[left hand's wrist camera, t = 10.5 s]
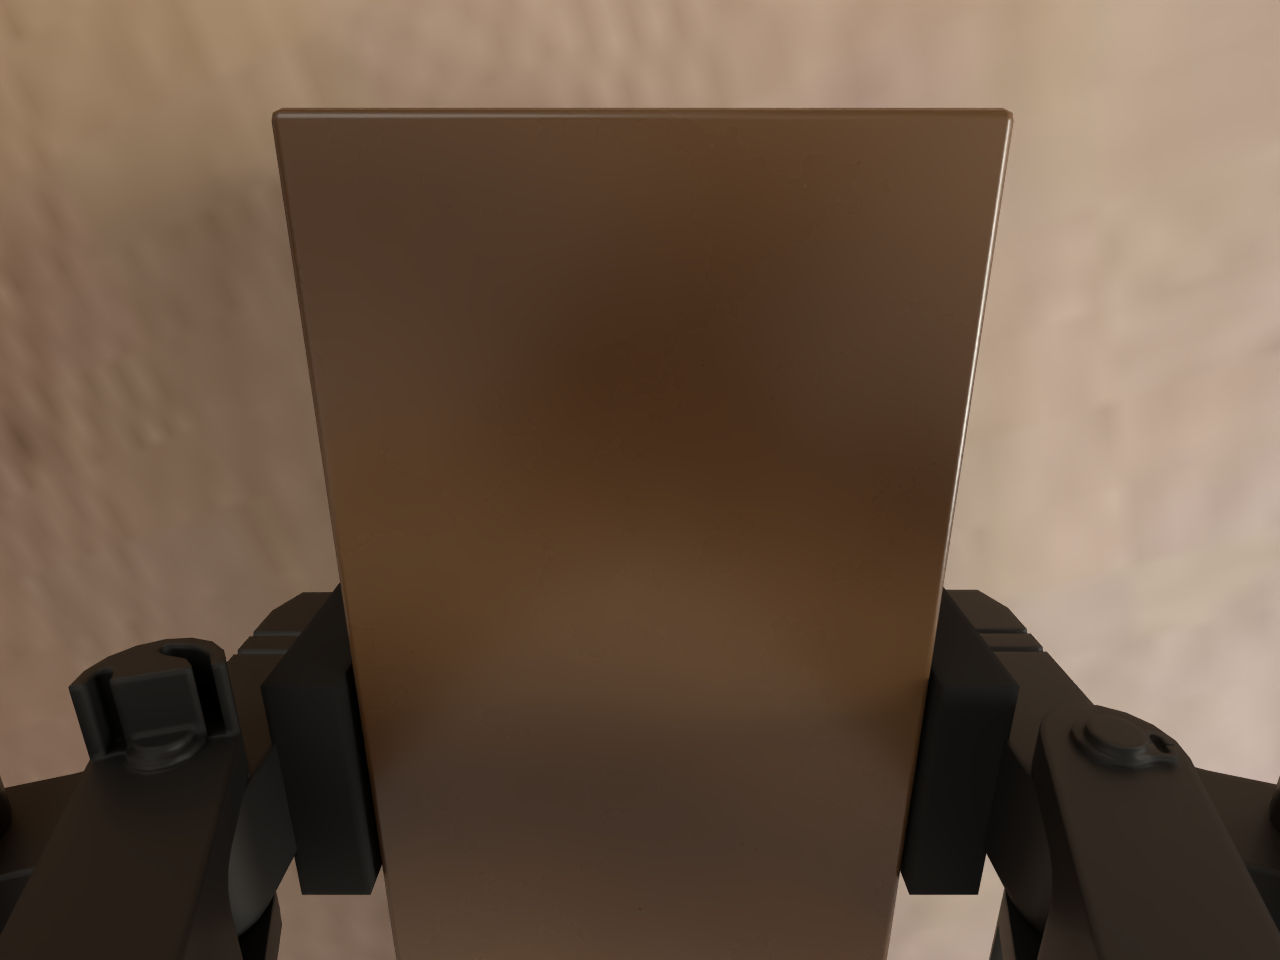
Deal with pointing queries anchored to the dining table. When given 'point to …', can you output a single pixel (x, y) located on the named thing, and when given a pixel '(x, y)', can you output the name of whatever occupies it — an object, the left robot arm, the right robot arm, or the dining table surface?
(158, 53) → the dining table surface
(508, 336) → the bar
